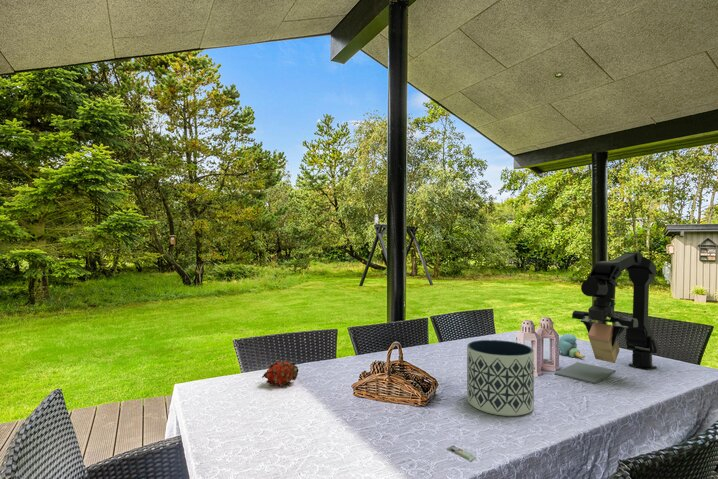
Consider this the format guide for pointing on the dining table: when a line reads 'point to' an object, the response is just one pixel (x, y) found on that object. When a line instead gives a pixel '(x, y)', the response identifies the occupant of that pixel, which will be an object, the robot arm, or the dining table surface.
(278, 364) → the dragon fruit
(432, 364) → the dining table surface
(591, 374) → the charcoal mat
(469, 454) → the granola bar
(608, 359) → the oak block
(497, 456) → the dining table surface
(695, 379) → the dining table surface
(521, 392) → the planter
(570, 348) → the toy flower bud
